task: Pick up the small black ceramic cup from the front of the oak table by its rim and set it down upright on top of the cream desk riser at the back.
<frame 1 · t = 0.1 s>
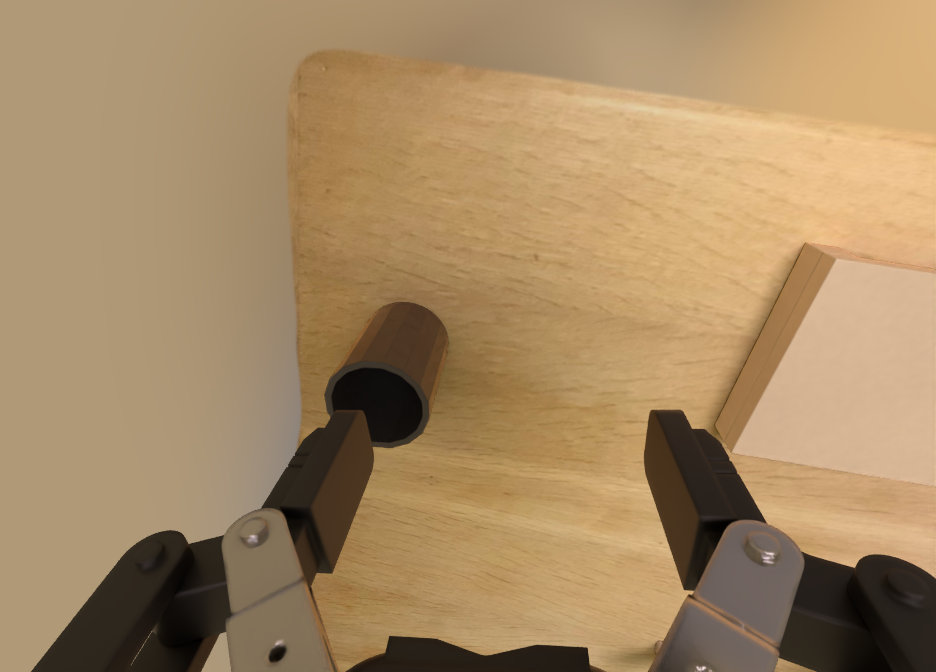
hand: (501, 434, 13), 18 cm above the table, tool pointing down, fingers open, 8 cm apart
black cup: (407, 339, 33), on the table
riser: (891, 365, 30), on the table
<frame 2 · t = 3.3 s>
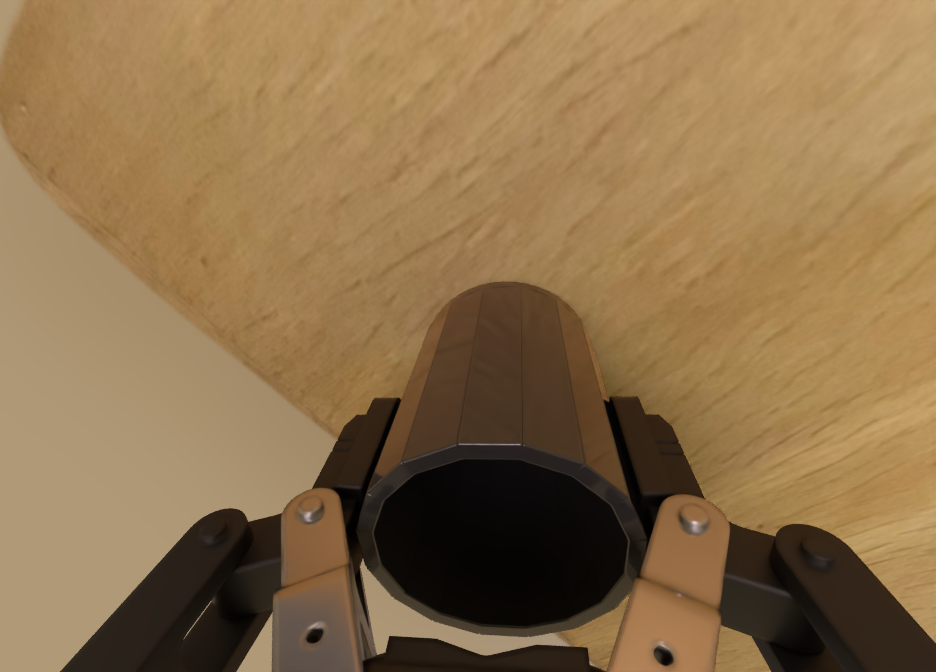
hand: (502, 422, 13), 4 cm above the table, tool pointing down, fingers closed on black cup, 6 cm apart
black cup: (506, 358, 17), on the table, touching gripper
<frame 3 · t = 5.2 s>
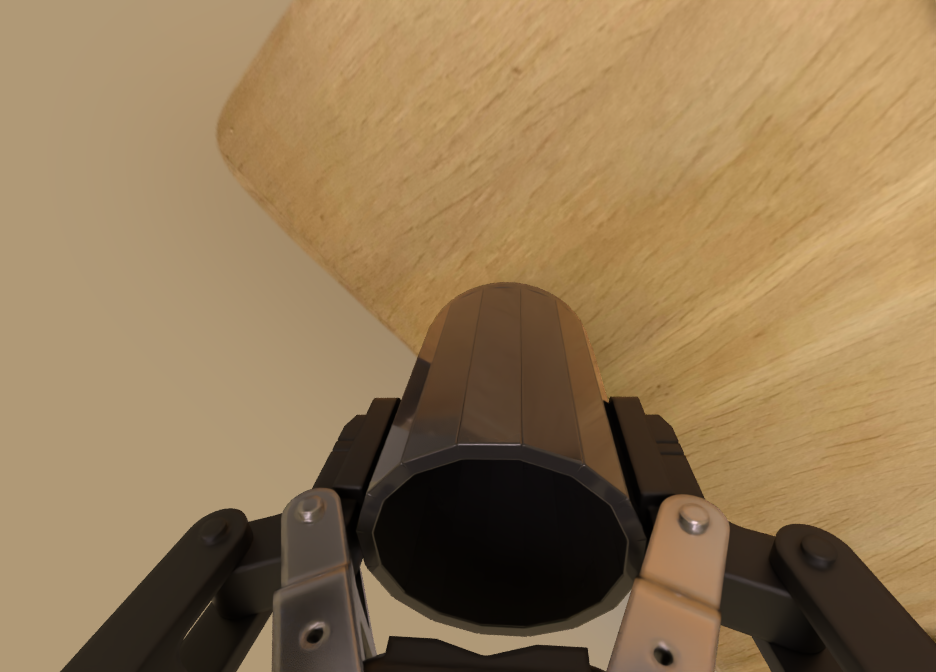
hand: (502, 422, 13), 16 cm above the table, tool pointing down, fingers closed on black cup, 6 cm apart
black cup: (506, 358, 17), point 12 cm above the table, touching gripper
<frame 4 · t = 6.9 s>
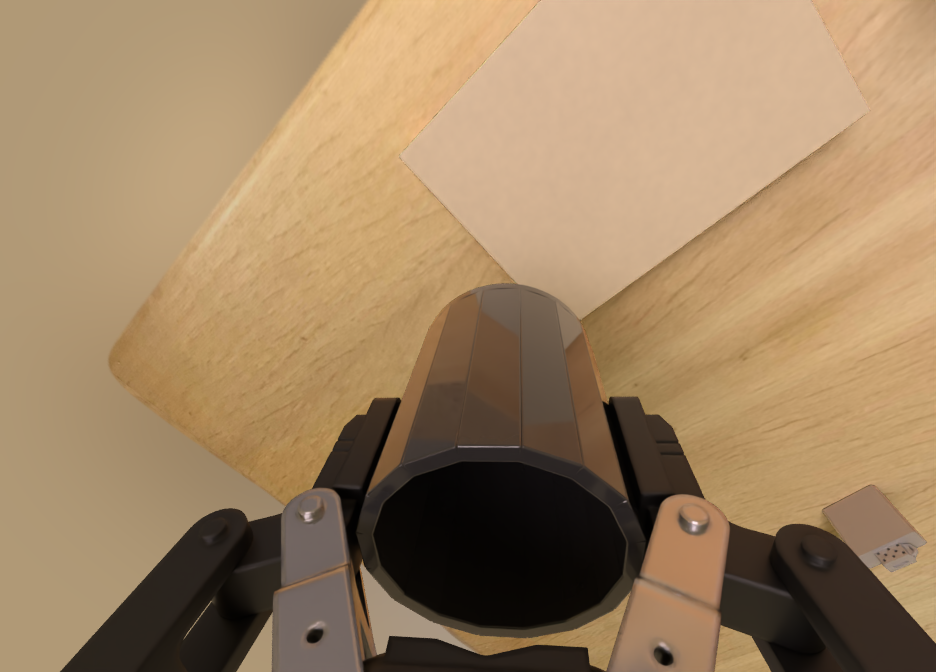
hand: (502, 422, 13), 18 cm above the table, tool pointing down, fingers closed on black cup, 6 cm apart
lighter: (832, 510, 37), on the table
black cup: (505, 359, 17), point 14 cm above the table, touching gripper
riser: (608, 130, 25), on the table
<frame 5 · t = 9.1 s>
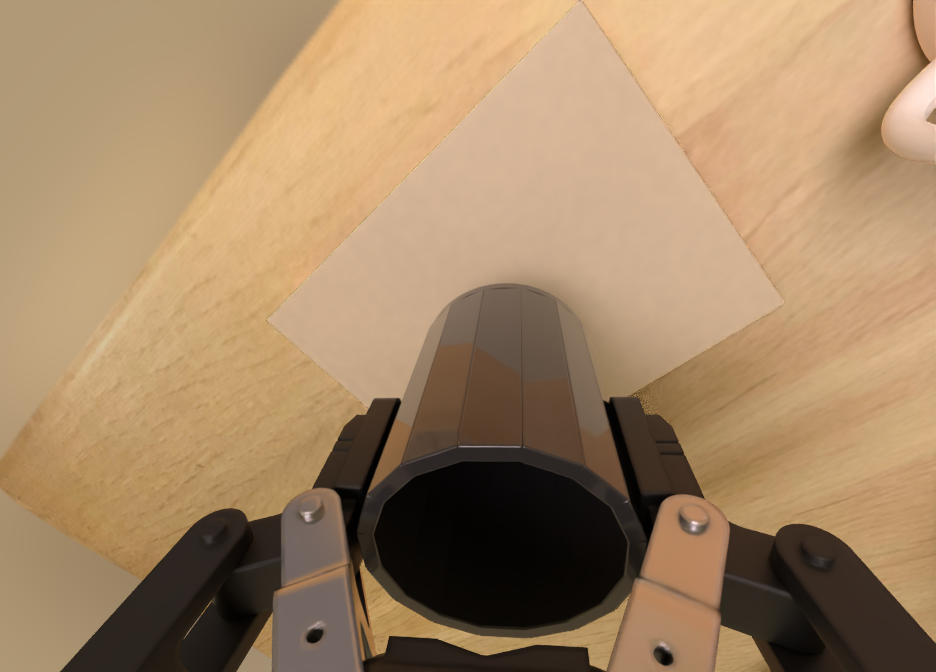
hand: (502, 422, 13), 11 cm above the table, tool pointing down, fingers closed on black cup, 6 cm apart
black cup: (506, 359, 17), point 7 cm above the table, touching gripper
riser: (508, 287, 23), on the table
when the fingers open (7 cm above the table, at t = 10.7 s): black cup stays where it is, resting on riser.
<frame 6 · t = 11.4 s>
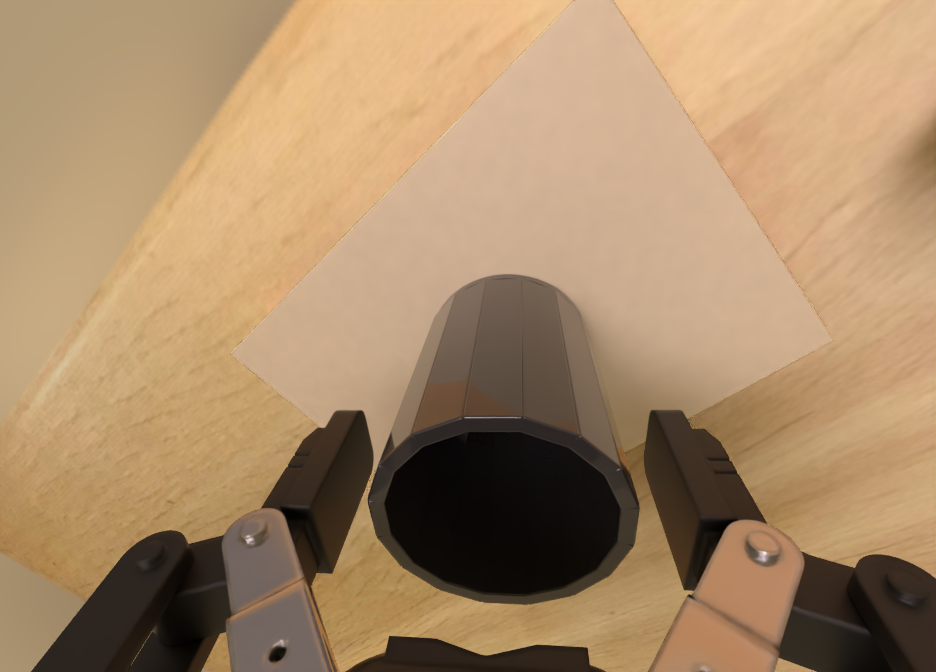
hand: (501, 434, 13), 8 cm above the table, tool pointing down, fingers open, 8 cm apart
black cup: (507, 348, 17), point 3 cm above the table, touching riser
riser: (508, 314, 20), on the table
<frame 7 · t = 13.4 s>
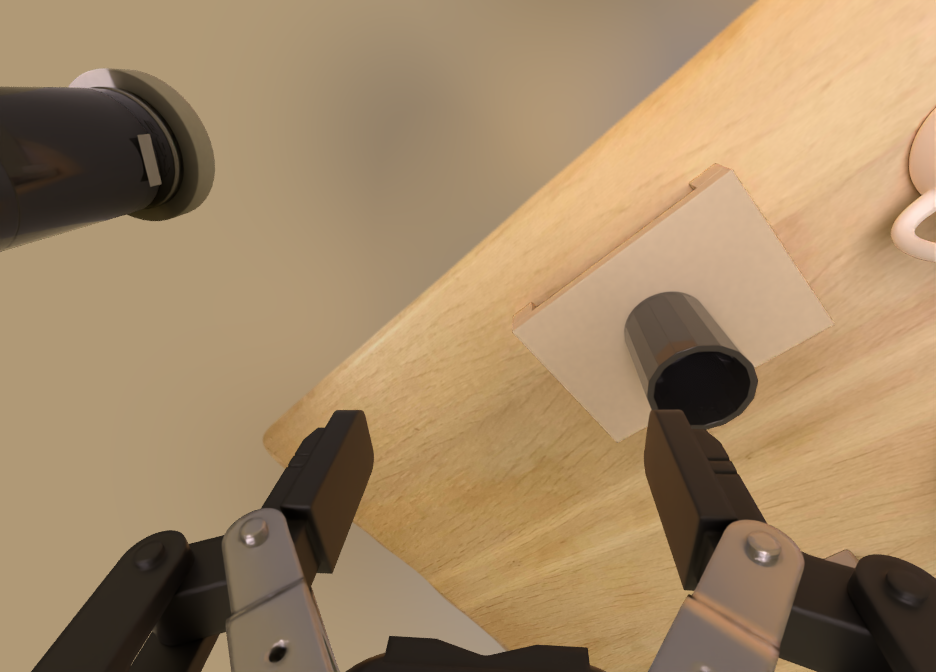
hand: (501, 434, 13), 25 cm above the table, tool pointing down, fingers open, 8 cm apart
lighter: (816, 566, 48), on the table
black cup: (665, 328, 34), point 3 cm above the table, touching riser
riser: (655, 311, 36), on the table
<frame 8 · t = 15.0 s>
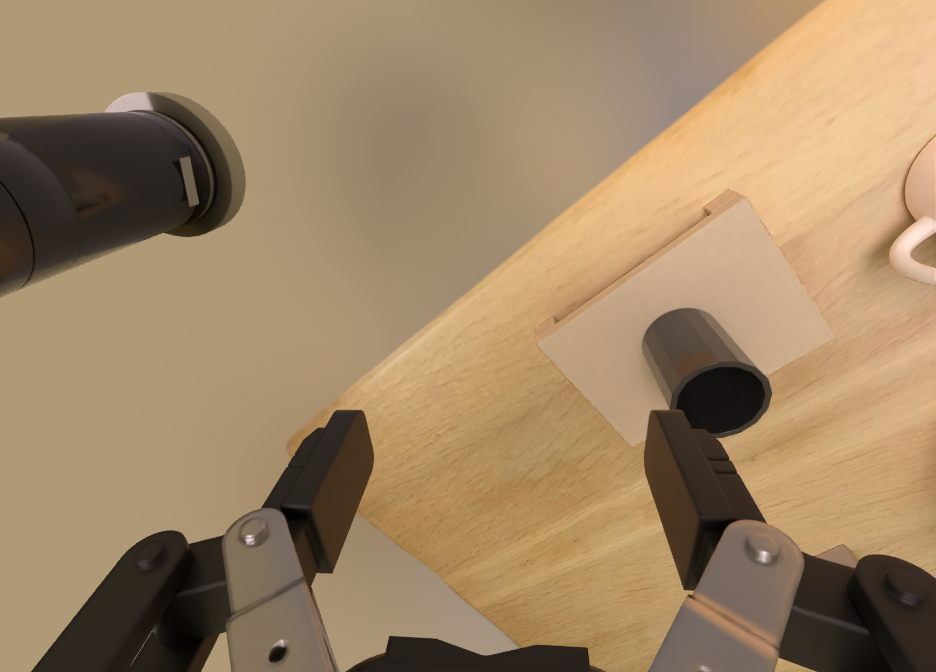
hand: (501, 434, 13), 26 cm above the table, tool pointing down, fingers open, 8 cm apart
lighter: (814, 560, 51), on the table
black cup: (681, 341, 36), point 3 cm above the table, touching riser
riser: (669, 324, 39), on the table
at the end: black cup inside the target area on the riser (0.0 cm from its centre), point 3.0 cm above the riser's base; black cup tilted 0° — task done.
